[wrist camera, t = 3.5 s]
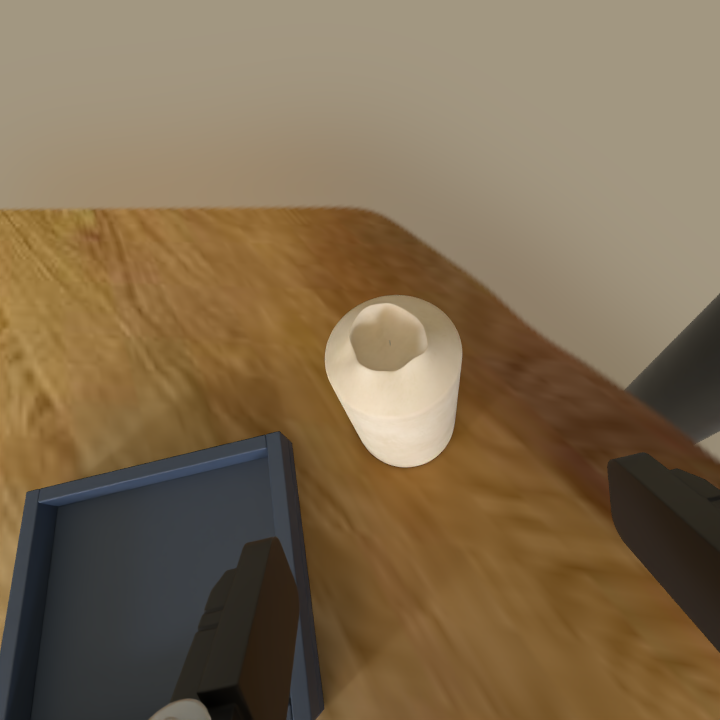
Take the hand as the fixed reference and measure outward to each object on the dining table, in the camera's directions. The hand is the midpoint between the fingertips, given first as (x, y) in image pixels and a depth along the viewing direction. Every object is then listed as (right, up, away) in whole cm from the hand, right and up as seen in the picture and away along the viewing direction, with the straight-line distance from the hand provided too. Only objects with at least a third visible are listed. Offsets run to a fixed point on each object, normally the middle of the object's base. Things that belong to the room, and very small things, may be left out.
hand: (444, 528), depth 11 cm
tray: (-12, -8, +12) cm, 19 cm away
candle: (+1, +1, +15) cm, 15 cm away
